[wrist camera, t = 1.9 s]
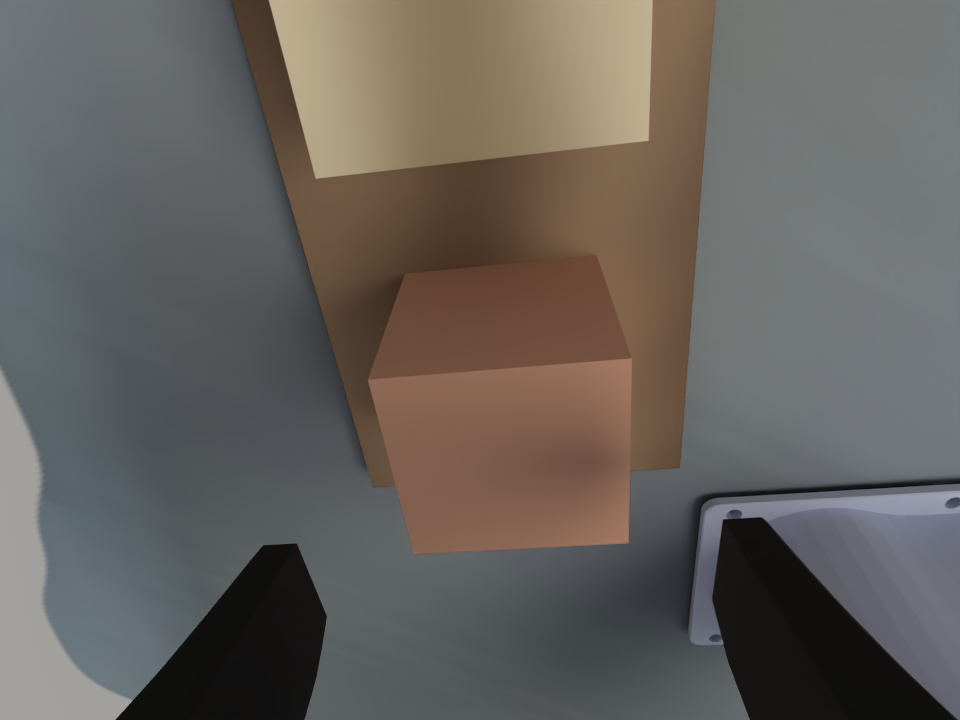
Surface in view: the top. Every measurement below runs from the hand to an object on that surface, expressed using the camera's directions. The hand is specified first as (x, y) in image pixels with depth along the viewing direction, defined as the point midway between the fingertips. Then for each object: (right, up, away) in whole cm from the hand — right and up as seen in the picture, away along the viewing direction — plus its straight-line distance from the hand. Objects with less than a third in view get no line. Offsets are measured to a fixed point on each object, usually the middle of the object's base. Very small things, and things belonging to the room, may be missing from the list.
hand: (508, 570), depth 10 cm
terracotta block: (0, +4, +6) cm, 8 cm away
